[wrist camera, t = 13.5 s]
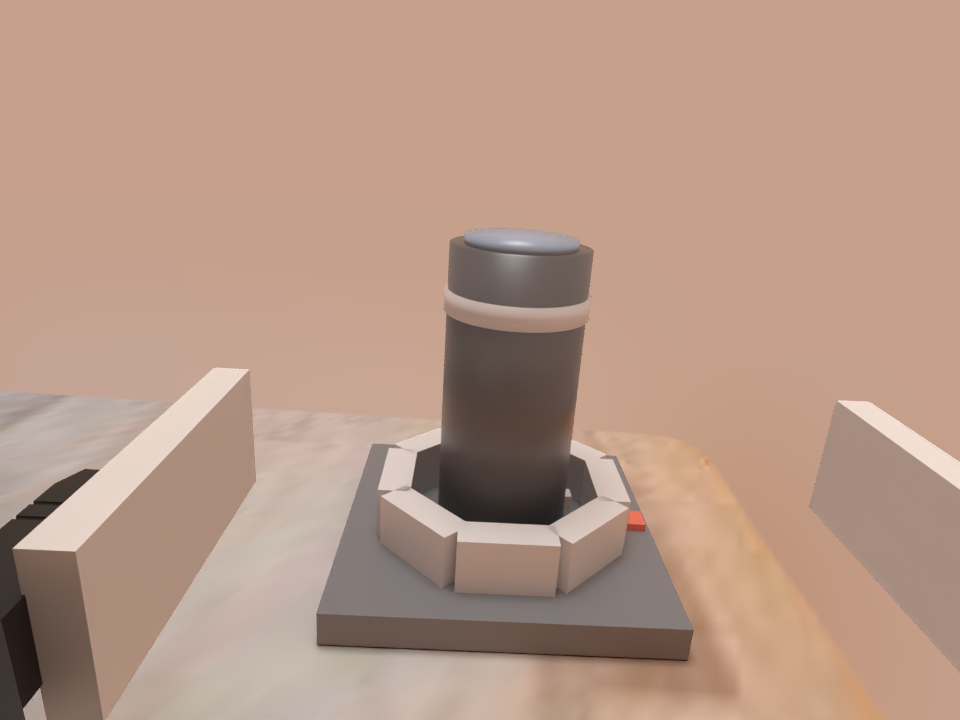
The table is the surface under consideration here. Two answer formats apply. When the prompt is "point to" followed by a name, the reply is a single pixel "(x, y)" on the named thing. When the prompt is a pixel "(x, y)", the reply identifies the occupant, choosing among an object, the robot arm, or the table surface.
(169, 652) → the table surface
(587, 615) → the mount plate
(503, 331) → the lens
